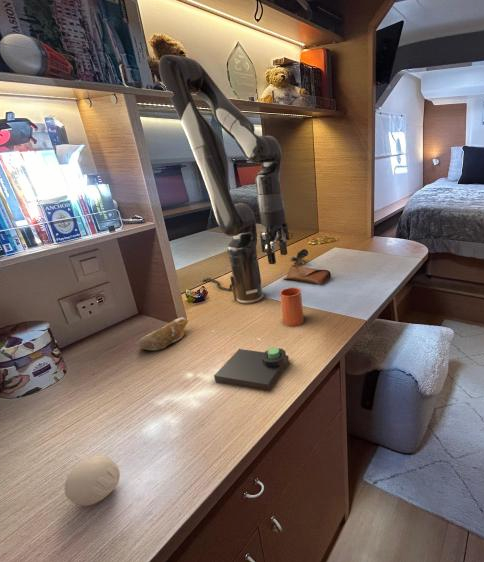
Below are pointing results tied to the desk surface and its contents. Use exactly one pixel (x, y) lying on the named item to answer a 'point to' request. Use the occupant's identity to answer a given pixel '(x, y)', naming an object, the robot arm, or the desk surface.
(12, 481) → the desk surface
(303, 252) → the eagle figurine
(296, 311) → the cup
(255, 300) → the robot arm
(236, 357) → the scale
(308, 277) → the sunglasses case
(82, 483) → the tan rounded lump
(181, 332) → the stone
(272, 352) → the scale button
